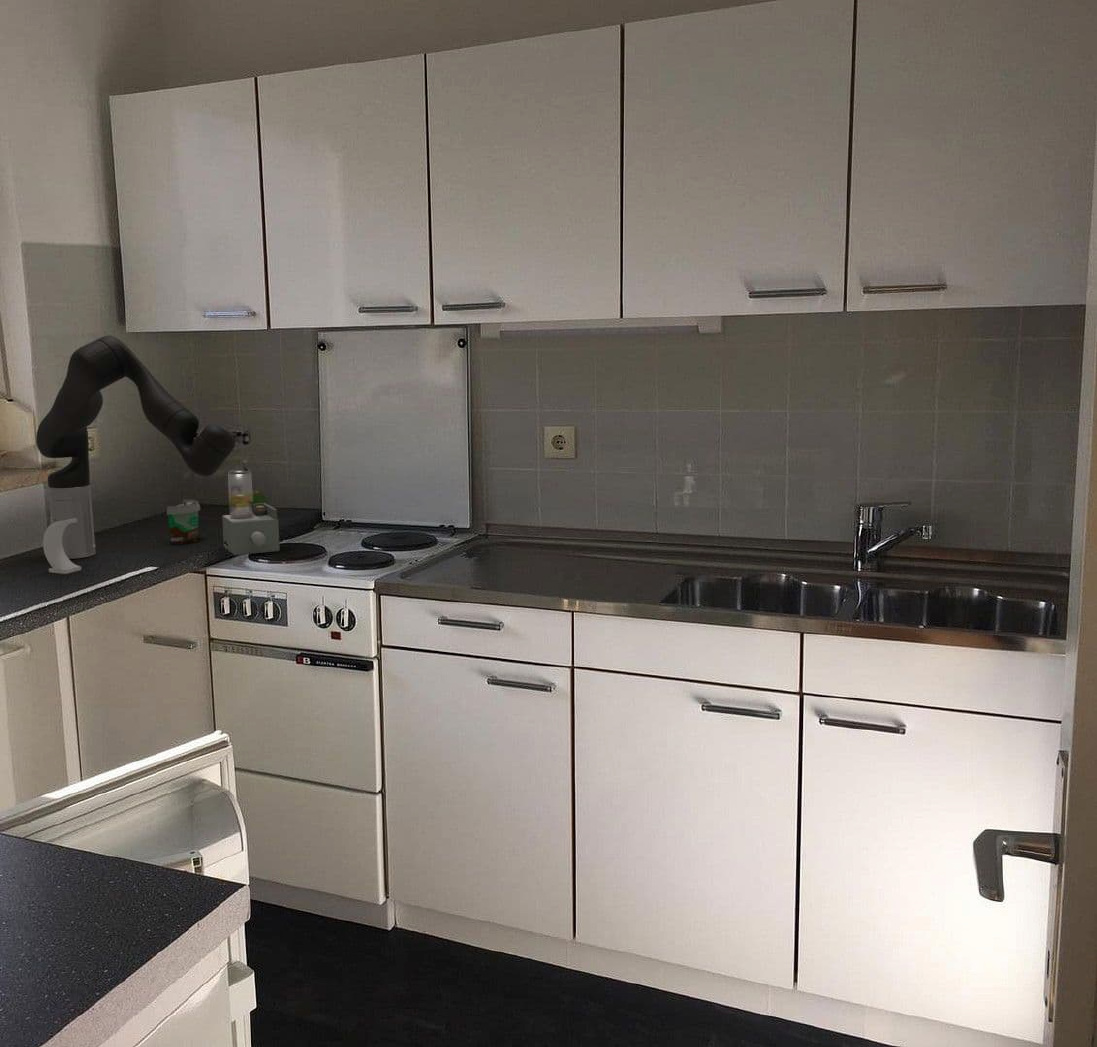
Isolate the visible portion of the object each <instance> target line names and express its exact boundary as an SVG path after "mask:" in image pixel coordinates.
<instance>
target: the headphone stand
mask: <svg viewBox="0 0 1097 1047" xmlns="http://www.w3.org/2000/svg"><path fill="white" fill-rule="evenodd" d="M74 522H77V518H73V519H68V520H63V521H58V522H54V523H52V524H51V523H50V524H49V525H48V527H47V528H46V530H45V531H44V534H43V538H42V540H43V541H42V544H43V545H42V546H43V551H44V556H45V558H46V560H47V562H48V563H49V565H50V566H51V567H50V568H48V572H49V573H54V574H62V575H67V574H71V573H74V572H75V573H76V572H78V571H81V570H82V566H81V565H77V564H75V563H74V562H72V561H71V559H68V557H67V556H66V554H65V552H64V549H63V545H62V535H63V532H64V529H65V528H66V526H67V525H69V524H70V523H74Z"/></svg>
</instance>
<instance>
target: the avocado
mask: <svg viewBox="0 0 1097 1047" xmlns="http://www.w3.org/2000/svg"><path fill="white" fill-rule="evenodd" d="M252 493H253V504H259V503H266V504H268V505H270V506H271V504H270V503H269V500H268V499H267V497H266V495H265V494H263V493H262V492H261V491H260V490H257V489H256V490H252Z"/></svg>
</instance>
